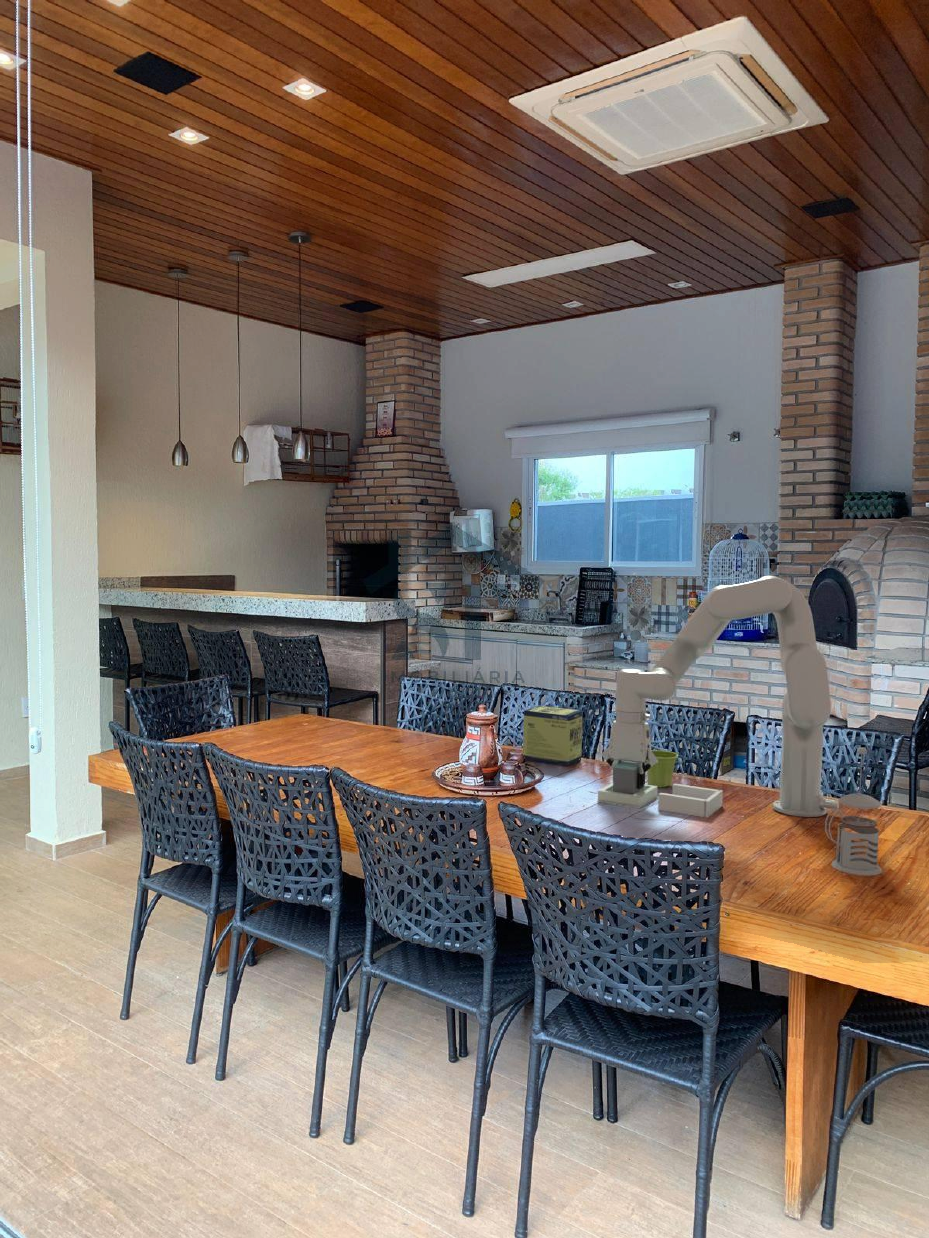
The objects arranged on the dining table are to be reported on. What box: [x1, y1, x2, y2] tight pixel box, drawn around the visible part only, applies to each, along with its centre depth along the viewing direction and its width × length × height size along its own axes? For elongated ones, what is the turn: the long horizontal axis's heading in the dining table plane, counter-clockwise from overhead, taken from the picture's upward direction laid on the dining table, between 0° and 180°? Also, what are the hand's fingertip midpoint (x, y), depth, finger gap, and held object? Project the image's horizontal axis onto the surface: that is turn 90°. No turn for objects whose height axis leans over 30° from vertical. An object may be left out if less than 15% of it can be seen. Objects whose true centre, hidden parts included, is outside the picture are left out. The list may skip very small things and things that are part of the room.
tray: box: [597, 782, 658, 809], centre depth 242 cm, size 11×13×3 cm
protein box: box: [522, 705, 583, 767], centre depth 286 cm, size 10×16×16 cm
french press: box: [824, 747, 883, 877], centre depth 191 cm, size 10×12×25 cm
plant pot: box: [645, 749, 679, 788], centre depth 257 cm, size 9×9×9 cm
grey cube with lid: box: [612, 761, 644, 795], centre depth 242 cm, size 6×8×7 cm
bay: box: [657, 783, 724, 818], centre depth 235 cm, size 12×12×4 cm
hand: (628, 785), depth 242 cm, fingers closed on grey cube with lid, 5 cm apart
